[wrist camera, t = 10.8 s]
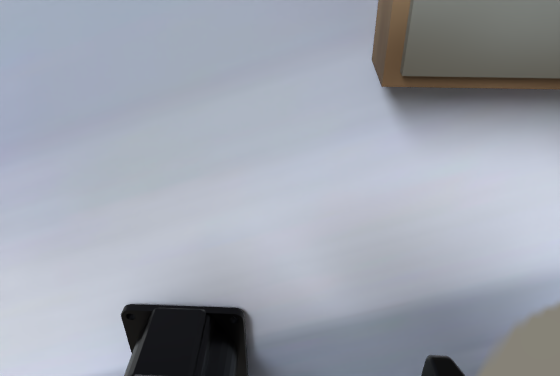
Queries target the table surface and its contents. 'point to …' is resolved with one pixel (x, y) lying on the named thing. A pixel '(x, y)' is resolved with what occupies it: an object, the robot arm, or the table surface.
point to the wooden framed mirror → (468, 43)
